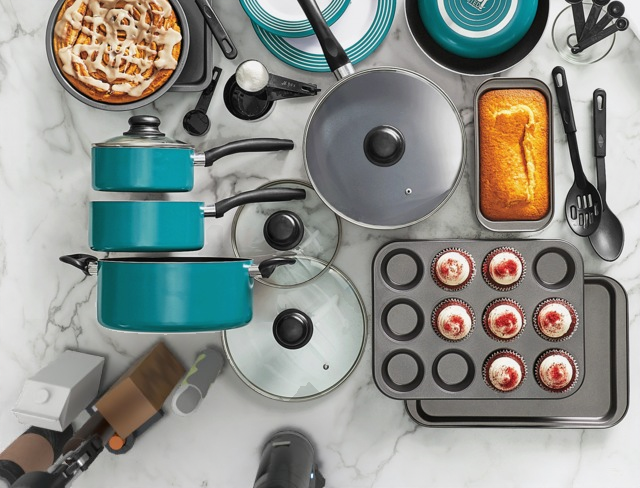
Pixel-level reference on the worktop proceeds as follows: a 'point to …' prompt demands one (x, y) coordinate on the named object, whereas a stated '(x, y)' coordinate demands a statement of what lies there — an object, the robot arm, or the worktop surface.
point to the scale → (132, 437)
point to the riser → (141, 390)
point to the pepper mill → (91, 425)
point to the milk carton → (60, 391)
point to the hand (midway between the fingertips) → (75, 455)
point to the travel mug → (32, 453)
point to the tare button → (116, 442)
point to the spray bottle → (197, 383)
